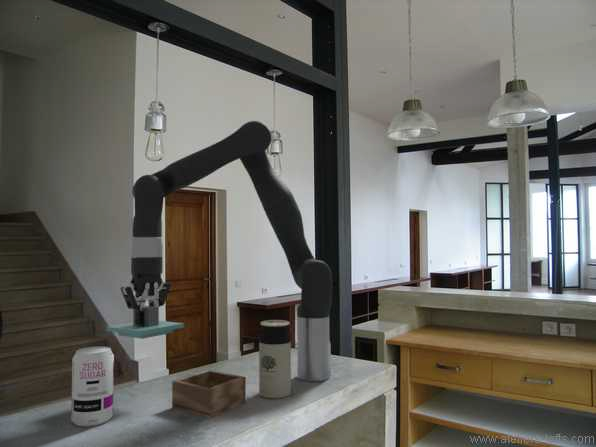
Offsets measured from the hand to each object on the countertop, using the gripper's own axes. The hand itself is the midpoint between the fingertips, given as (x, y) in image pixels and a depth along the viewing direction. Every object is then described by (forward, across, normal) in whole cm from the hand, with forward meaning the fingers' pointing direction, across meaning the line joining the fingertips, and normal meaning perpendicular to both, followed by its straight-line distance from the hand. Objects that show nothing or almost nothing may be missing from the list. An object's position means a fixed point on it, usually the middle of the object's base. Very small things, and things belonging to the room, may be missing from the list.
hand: (146, 324), depth 117 cm
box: (+18, -5, +17) cm, 25 cm away
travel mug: (+18, -20, +25) cm, 37 cm away
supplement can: (+18, +16, +3) cm, 24 cm away
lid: (+2, 0, 0) cm, 2 cm away
